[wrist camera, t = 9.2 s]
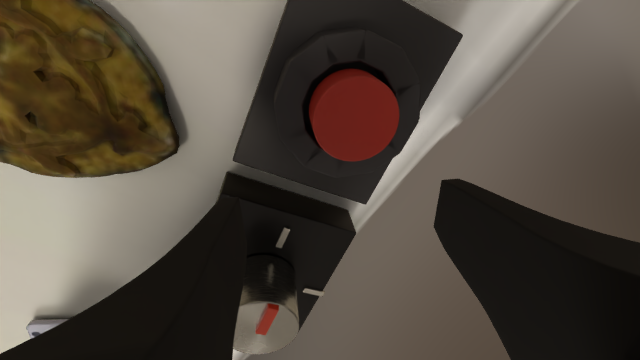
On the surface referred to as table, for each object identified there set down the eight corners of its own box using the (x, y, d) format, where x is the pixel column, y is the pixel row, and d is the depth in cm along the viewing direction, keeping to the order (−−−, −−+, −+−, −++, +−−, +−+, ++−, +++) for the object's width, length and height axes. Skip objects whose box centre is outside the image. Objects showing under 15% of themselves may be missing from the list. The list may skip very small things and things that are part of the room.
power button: (364, 156, 16) (374, 173, 14) (296, 131, 15) (298, 145, 13) (401, 87, 14) (416, 97, 13) (329, 54, 13) (336, 60, 12)
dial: (281, 308, 21) (282, 364, 18) (220, 295, 20) (209, 353, 17) (305, 263, 19) (311, 316, 16) (240, 246, 18) (233, 300, 15)
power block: (359, 191, 21) (374, 223, 17) (235, 148, 18) (227, 177, 15) (447, 32, 17) (486, 38, 14) (304, -48, 14) (311, -62, 11)
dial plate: (292, 312, 25) (294, 344, 23) (183, 290, 23) (173, 323, 20) (349, 210, 21) (359, 235, 19) (225, 170, 19) (218, 194, 16)
